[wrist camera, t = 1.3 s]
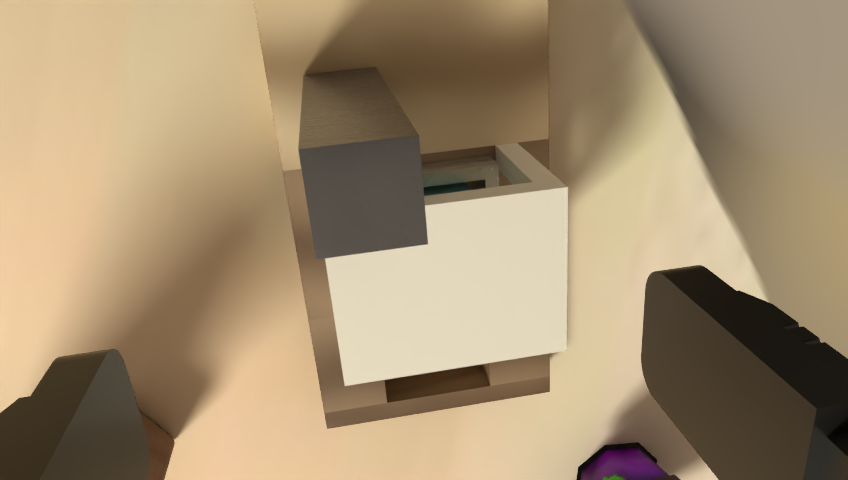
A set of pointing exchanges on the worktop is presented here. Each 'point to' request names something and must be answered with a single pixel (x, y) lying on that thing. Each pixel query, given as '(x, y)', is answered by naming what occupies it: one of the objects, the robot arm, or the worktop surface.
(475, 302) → the cream open box
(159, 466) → the wooden block
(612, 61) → the worktop surface
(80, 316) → the worktop surface
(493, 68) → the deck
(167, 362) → the worktop surface
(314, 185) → the grey angular piece
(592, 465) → the potion bottle
